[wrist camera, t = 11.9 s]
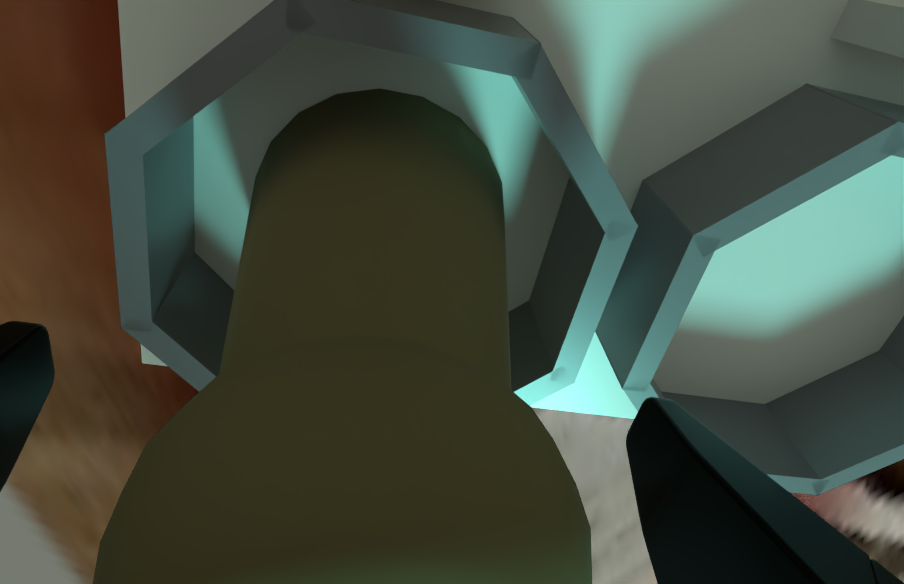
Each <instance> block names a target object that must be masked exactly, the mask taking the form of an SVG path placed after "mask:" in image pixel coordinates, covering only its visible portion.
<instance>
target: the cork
mask: <svg viewBox="0 0 904 584" xmlns="http://www.w3.org/2000/svg"><path fill="white" fill-rule="evenodd" d="M93 584H592V561H591V529H590V525H589V522H588V519H587V516H586V513H585V510H584V507H583V504H582V501H581V498H580V495H579V492H578V489H577V486H576V483H575V481H574V479H573V477H572V475H571V473H570V471H569V469H568V468H567V466H566V464H565V462H564V460H563V458H562V456H561V454H560V452H559V450H558V448H557V446H556V444H555V442H554V440H553V438H552V437H551V435H550V434H549V432H548V431H547V429H546V428H545V427H544V425H543V424H542V422H541V421H540V419H539V418H538V416H537V415H536V414H535V412H534V411H533V409H532V408H531V406H529V405H528V404H527V403H526V402H525V401H524V400H522V399H521V398H520V397H519V396H518V395H516V394H515V393H514V392H513V391H512V390H511V368H510V343H509V318H508V293H507V268H506V243H505V218H504V203H503V188H502V181H501V179H500V176H499V174H498V172H497V169H496V167H495V165H494V162H493V160H492V158H491V155H490V153H489V151H488V148H487V147H486V146H485V145H484V143H483V142H482V141H481V140H480V139H479V138H478V137H477V136H476V135H475V133H474V132H473V131H472V130H471V129H470V128H469V127H468V126H467V125H466V124H465V122H464V121H463V120H462V119H461V118H460V117H458V116H456V115H455V114H453V113H451V112H449V111H447V110H446V109H444V108H442V107H440V106H439V105H437V104H435V103H433V102H431V101H430V100H428V99H426V98H424V97H422V96H417V95H411V94H406V93H401V92H396V91H391V90H386V89H381V88H378V89H371V90H363V91H355V92H347V93H339V94H335V95H333V96H331V97H329V98H327V99H325V100H323V101H321V102H319V103H317V104H315V105H313V106H311V107H309V108H307V109H305V110H303V111H301V112H299V113H298V114H297V115H296V116H295V117H294V118H293V119H292V120H291V121H290V122H289V123H288V124H287V125H286V126H285V127H284V128H283V129H282V130H281V131H280V132H279V133H278V135H277V136H276V137H275V138H274V139H273V140H272V141H271V142H270V144H269V147H268V149H267V151H266V154H265V156H264V158H263V161H262V163H261V165H260V168H259V170H258V172H257V175H256V177H255V182H254V188H253V193H252V199H251V204H250V209H249V215H248V220H247V226H246V231H245V236H244V242H243V247H242V252H241V258H240V263H239V269H238V274H237V279H236V285H235V290H234V296H233V301H232V306H231V312H230V317H229V323H228V328H227V333H226V339H225V344H224V350H223V355H222V360H221V366H220V371H219V375H218V376H216V377H215V378H214V379H213V380H212V381H211V382H210V383H209V384H207V385H206V386H205V387H204V388H203V389H202V390H201V391H200V392H199V393H197V394H196V395H195V396H194V397H193V398H192V399H191V400H190V401H188V402H187V403H186V404H185V405H184V406H183V407H182V408H181V409H180V410H178V411H177V413H176V414H175V415H174V416H173V417H172V418H171V419H170V420H169V421H168V422H167V423H166V424H165V425H164V426H163V427H162V428H161V430H160V431H159V432H158V433H157V434H156V435H155V436H154V437H153V438H152V439H151V440H150V441H149V442H148V443H147V444H146V446H145V448H144V450H143V452H142V453H141V455H140V457H139V459H138V461H137V463H136V465H135V467H134V469H133V471H132V473H131V475H130V477H129V479H128V481H127V483H126V485H125V487H124V489H123V491H122V493H121V495H120V497H119V500H118V502H117V504H116V507H115V509H114V511H113V514H112V516H111V518H110V521H109V523H108V525H107V528H106V530H105V532H104V535H103V537H102V539H101V542H100V546H99V552H98V557H97V563H96V568H95V574H94V580H93Z"/></svg>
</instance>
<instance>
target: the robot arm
mask: <svg viewBox="0 0 904 584" xmlns="http://www.w3.org/2000/svg"><path fill="white" fill-rule="evenodd" d="M54 373H55V371H54V364H53V358H52V352H51V345H50V339H49V334H48V331H47V329H46V327H44V326H43V325H41V324H36V323H28V322H20V321H10V322H6V323H4V324H1V325H0V491H1V490H2V488H3V486H4V485H5V483H6V481H7V479H8V477H9V475H10V473H11V471H12V469H13V467H14V465H15V463H16V461H17V459H18V457H19V455H20V453H21V451H22V448H23V446H24V444H25V442H26V440H27V438H28V436H29V434H30V432H31V430H32V427H33V425H34V423H35V421H36V419H37V417H38V415H39V413H40V411H41V408H42V406H43V404H44V402H45V400H46V398H47V396H48V394H49V392H50V389H51V387H52V384H53V381H54ZM626 447H627V453H628V458H629V464H630V469H631V474H632V480H633V485H634V490H635V496H636V501H637V506H638V512H639V517H640V522H641V526H642V531H643V535H644V539H645V542H646V546H647V549H648V553H649V556H650V559H651V563H652V566H653V569H654V573H655V576H656V579H657V583H658V584H904V583H903V582H902V581H901V580H899V579H898V578H897V577H895V576H894V575H893V574H892V573H890V572H889V571H888V570H887V569H885V568H884V567H883V566H882V565H880V564H879V563H878V562H877V561H875V560H873V559H871V560H870V558H869V556H868V554H866V553H865V552H864V551H863V550H861V549H860V548H859V547H858V546H856V545H855V544H854V543H853V542H851V541H850V540H849V539H847V538H846V537H845V536H844V535H842V534H841V533H840V532H839V531H837V530H836V529H835V528H834V527H832V526H831V525H830V524H829V523H827V522H826V521H825V520H823V519H822V518H821V517H820V516H818V515H817V514H816V513H815V512H813V511H812V510H811V509H810V508H808V507H807V506H806V505H805V504H803V503H802V502H801V501H799V500H798V499H797V498H796V497H794V496H793V495H792V494H791V493H789V492H788V491H787V490H786V489H784V488H783V487H782V486H781V485H779V484H778V483H777V482H775V481H774V480H773V479H772V478H770V477H769V476H768V475H767V474H765V473H764V472H763V471H762V470H760V469H759V468H758V467H757V466H755V465H754V464H753V463H751V462H750V461H749V460H748V459H746V458H745V457H744V456H743V455H741V454H740V453H739V452H738V451H736V450H735V449H734V448H733V447H731V446H730V445H729V444H728V443H726V442H725V441H724V440H722V439H721V438H720V437H719V436H717V435H716V434H715V433H714V432H712V431H711V430H710V429H709V428H707V427H706V426H705V425H704V424H702V423H701V422H700V421H699V420H697V419H696V418H695V417H693V416H692V415H691V414H690V413H688V412H687V411H686V410H685V409H683V408H682V407H681V406H680V405H678V404H677V403H676V402H674V401H673V400H670V399H665V398H656V397H649V398H646V399H645V400H644V401H643V403H642V404H641V406H640V409H639V411H638V413H637V415H636V417H635V419H634V421H633V423H632V425H631V427H630V429H629V431H628V434H627V439H626Z"/></svg>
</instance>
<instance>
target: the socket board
mask: <svg viewBox="0 0 904 584" xmlns="http://www.w3.org/2000/svg"><path fill="white" fill-rule="evenodd" d="M118 13H119V28H120V43H121V58H122V72H123V87H124V102H125V117H126V118H125V119H123V120H122V121H121V122H119V123H118V124H117V125H115V126H114V127H112V128H111V129H110V130H108V131H107V132H106V133H104V136H105V147H106V158H107V170H108V182H109V193H110V205H111V216H112V228H113V239H114V251H115V263H116V274H117V286H118V297H119V309H120V321H121V329H123V330H125V331H126V332H127V333H128V334H129V335H131V336H132V337H133V338H134V339H136V340H137V341H138V342H139V343H140V344H141V355H142V363H144V364H153V365H162V366H168V367H169V368H171V369H172V370H173V371H174V372H176V373H177V374H178V375H179V376H180V377H182V378H183V379H184V380H185V381H186V382H188V383H189V384H190V385H191V386H193V387H194V388H195V389H196V390H197V391H199V392H200V391H201V390H202V389H203V388H204V387H205V386H206V385H207V384H209V383H210V382H211V381H212V380H213V379H214V378H215V377H216V376H218V375H219V371H220V366H221V360H222V355H223V350H224V344H225V339H226V333H227V328H228V323H229V317H230V312H231V306H232V301H233V296H234V290H235V285H236V279H237V274H238V269H239V263H240V258H241V252H242V247H243V242H244V236H245V231H246V226H247V220H248V215H249V209H250V204H251V199H252V193H253V188H254V182H255V177H256V175H257V172H258V170H259V168H260V165H261V163H262V161H263V158H264V156H265V154H266V151H267V149H268V147H269V144H270V142H271V141H272V140H273V139H274V138H275V137H276V136H277V135H278V133H279V132H280V131H281V130H282V129H283V128H284V127H285V126H286V125H287V124H288V123H289V122H290V121H291V120H292V119H293V118H294V117H295V116H296V115H297V114H298V113H299V112H301V111H303V110H305V109H307V108H309V107H311V106H313V105H315V104H317V103H319V102H321V101H323V100H325V99H327V98H329V97H331V96H333V95H335V94H339V93H347V92H355V91H363V90H371V89H378V88H381V89H386V90H391V91H396V92H401V93H406V94H411V95H417V96H422V97H424V98H426V99H428V100H430V101H431V102H433V103H435V104H437V105H439V106H440V107H442V108H444V109H446V110H447V111H449V112H451V113H453V114H455V115H456V116H458V117H460V118H461V119H462V120H463V121H464V122H465V124H466V125H467V126H468V127H469V128H470V129H471V130H472V131H473V132H474V133H475V135H476V136H477V137H478V138H479V139H480V140H481V141H482V142H483V143H484V145H485V146H486V147H487V148H488V151H489V153H490V155H491V158H492V160H493V162H494V165H495V167H496V169H497V172H498V174H499V176H500V179H501V181H502V188H503V203H504V218H505V243H506V268H507V293H508V318H509V343H510V368H511V390H512V391H513V392H514V393H515V394H516V395H518V396H519V397H520V398H521V399H522V400H524V401H525V402H526V403H527V404H528V405H529V406H531V407H533V408H542V409H551V410H560V411H569V412H578V413H587V414H595V415H604V416H613V417H622V418H631V419H635V417H636V415H637V413H638V411H639V409H640V406H641V404H642V403H643V401H644V400H645V399H646V398H649V397H656V398H665V399H670V400H673V401H674V402H676V403H677V404H678V405H680V406H681V407H682V408H683V409H685V410H686V411H687V412H688V413H690V414H691V415H692V416H693V417H695V418H696V419H697V420H699V421H700V422H701V423H702V424H704V425H705V426H706V427H707V428H709V429H710V430H711V431H712V432H714V433H715V434H716V435H717V436H719V437H720V438H721V439H722V440H724V441H725V442H726V443H728V444H729V445H730V446H731V447H733V448H734V449H735V450H736V451H738V452H739V453H740V454H741V455H743V456H744V457H745V458H746V459H748V460H749V461H750V462H751V463H753V464H754V465H755V466H757V467H758V468H759V469H760V470H762V471H763V472H764V473H765V474H767V475H768V476H769V477H770V478H772V479H773V480H774V481H775V482H777V483H778V484H779V485H781V486H782V487H783V488H784V489H786V490H787V491H788V492H790V493H800V494H811V495H819V494H821V493H824V492H826V491H829V490H831V489H833V488H836V487H838V486H840V485H843V484H845V483H848V482H850V481H852V480H855V479H857V478H859V477H862V476H864V475H867V474H869V473H871V472H874V471H876V470H878V469H881V468H883V467H886V466H888V465H890V464H893V463H895V462H897V461H900V460H902V459H904V0H118Z"/></svg>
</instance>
